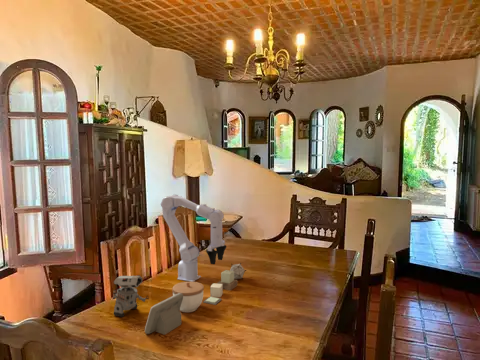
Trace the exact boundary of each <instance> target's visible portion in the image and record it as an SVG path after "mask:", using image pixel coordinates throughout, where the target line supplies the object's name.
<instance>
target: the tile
mask: <svg viewBox="0 0 480 360" xmlns="http://www.w3.org/2000/svg"><path fill="white" fill-rule="evenodd" d="M222 300H223V298H221V297H210V296H208V298H206V299H205V300H204V301H203V300H202V303H205V304H207V305H208V304H209V305H214V306H217V304H219V303H220V302H221V301H222Z"/></svg>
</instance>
